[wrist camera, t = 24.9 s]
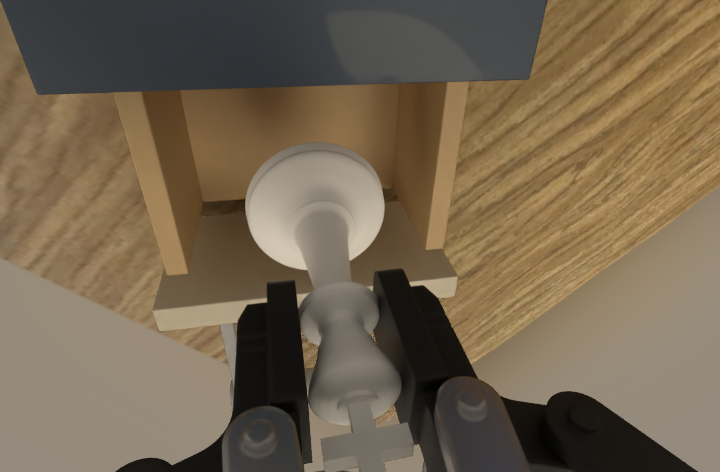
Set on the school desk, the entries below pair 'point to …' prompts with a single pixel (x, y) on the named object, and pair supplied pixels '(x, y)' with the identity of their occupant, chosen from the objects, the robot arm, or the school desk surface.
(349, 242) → the chess piece
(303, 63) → the cabinet
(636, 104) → the school desk surface
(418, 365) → the robot arm
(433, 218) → the drawer
